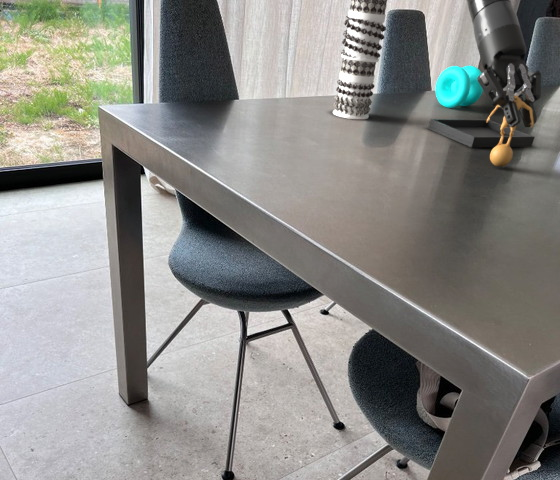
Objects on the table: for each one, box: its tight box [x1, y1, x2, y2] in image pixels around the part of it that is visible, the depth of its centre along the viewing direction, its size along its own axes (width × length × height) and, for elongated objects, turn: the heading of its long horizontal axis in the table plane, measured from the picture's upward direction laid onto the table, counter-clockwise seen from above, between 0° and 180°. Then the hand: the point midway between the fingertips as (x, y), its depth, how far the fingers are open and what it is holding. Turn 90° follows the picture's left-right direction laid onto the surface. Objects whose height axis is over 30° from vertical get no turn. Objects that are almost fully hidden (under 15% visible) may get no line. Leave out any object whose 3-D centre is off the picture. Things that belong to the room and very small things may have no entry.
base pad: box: [427, 118, 536, 149], centre depth 126 cm, size 17×15×2 cm
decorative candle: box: [332, 0, 388, 120], centre depth 125 cm, size 9×9×25 cm
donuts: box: [434, 65, 484, 109], centre depth 153 cm, size 10×10×10 cm
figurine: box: [486, 95, 535, 168], centre depth 104 cm, size 8×6×12 cm
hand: (523, 124), depth 102 cm, fingers closed on figurine, 3 cm apart
